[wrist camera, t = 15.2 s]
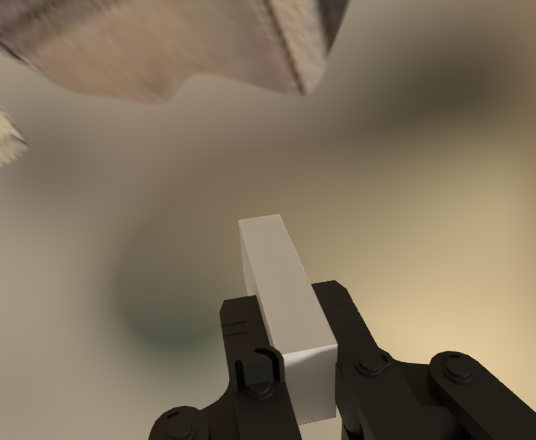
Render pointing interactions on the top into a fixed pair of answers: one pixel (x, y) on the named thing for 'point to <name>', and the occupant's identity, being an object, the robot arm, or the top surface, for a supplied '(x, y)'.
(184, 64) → the top surface
